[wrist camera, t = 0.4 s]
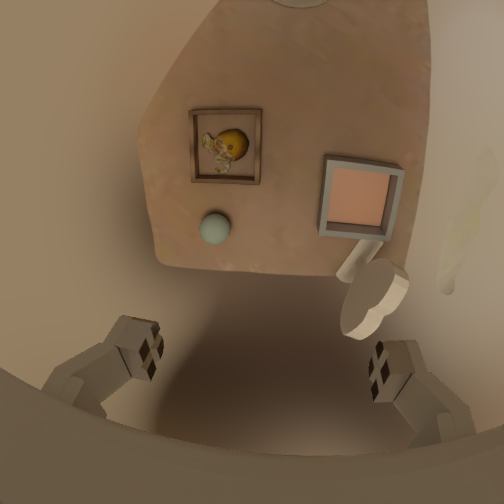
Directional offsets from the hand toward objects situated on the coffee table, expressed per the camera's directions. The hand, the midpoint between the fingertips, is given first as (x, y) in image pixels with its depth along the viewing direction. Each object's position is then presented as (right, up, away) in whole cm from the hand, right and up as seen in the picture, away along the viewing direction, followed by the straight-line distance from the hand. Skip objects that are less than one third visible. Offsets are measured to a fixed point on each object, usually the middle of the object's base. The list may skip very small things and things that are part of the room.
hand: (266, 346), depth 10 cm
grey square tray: (+20, +14, +42) cm, 49 cm away
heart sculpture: (+22, +2, +50) cm, 54 cm away
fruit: (-6, +23, +41) cm, 48 cm away
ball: (-8, +8, +47) cm, 48 cm away
